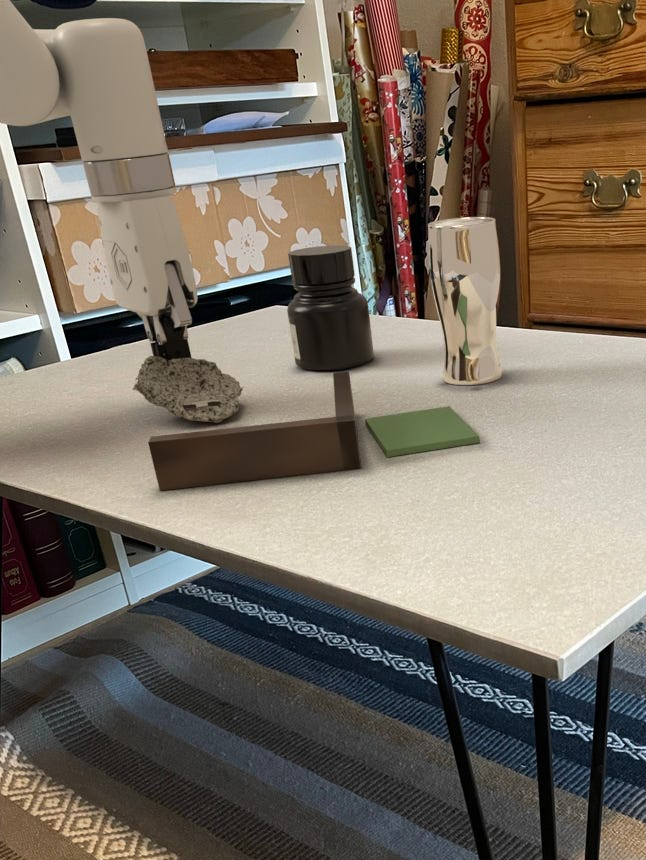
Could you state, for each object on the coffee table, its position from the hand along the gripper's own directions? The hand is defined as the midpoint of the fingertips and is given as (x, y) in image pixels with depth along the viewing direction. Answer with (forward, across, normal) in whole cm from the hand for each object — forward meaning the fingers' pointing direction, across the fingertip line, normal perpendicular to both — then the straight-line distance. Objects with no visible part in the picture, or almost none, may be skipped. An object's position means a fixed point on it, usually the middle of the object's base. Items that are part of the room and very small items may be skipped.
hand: (178, 380), depth 98 cm
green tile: (+3, +27, +10) cm, 29 cm away
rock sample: (+3, +5, 0) cm, 6 cm away
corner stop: (+3, +19, -1) cm, 20 cm away
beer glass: (+3, +16, +25) cm, 30 cm away
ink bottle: (+3, -3, +20) cm, 20 cm away
